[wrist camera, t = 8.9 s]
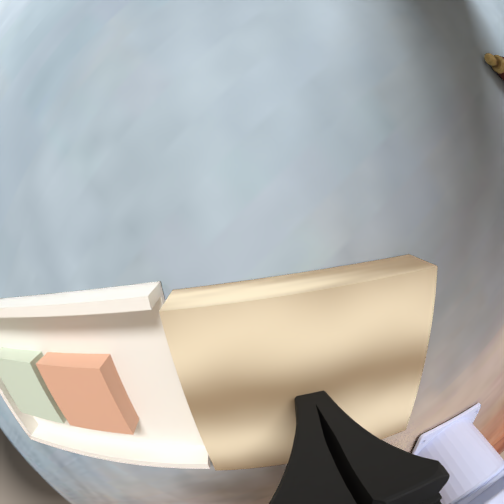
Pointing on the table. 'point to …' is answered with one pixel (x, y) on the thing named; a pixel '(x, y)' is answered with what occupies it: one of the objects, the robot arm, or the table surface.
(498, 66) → the gavel
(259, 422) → the maple board
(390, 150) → the table surface
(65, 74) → the table surface
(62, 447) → the tray
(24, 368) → the sage tile
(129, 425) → the terracotta tile
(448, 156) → the table surface
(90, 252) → the table surface
